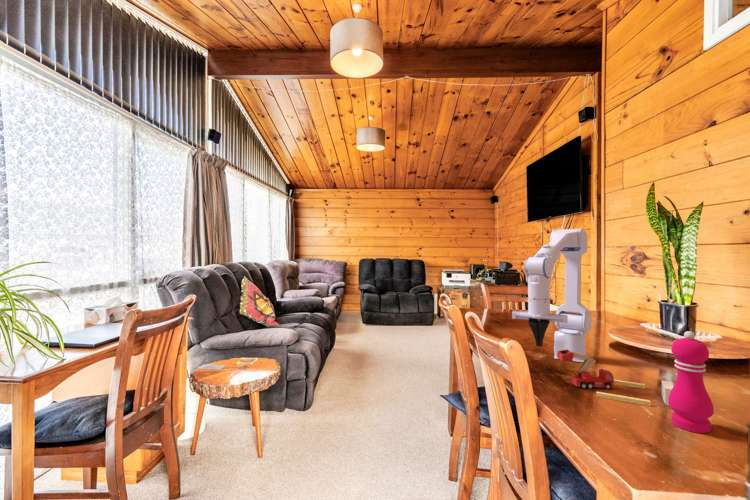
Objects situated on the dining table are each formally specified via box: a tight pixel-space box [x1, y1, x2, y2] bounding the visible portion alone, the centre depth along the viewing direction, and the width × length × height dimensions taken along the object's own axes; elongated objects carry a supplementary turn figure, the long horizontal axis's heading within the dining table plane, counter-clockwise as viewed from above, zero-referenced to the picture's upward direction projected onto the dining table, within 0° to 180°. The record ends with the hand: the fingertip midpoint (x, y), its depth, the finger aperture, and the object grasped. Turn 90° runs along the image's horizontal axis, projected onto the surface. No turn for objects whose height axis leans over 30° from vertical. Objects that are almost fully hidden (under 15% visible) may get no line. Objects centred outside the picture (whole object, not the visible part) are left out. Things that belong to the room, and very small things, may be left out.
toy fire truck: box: [557, 349, 615, 390], centre depth 98 cm, size 3×14×10 cm, turn 84°
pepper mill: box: [668, 330, 715, 434], centre depth 76 cm, size 7×7×20 cm
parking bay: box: [595, 379, 675, 407], centre depth 93 cm, size 16×13×4 cm
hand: (539, 345), depth 104 cm, fingers closed
